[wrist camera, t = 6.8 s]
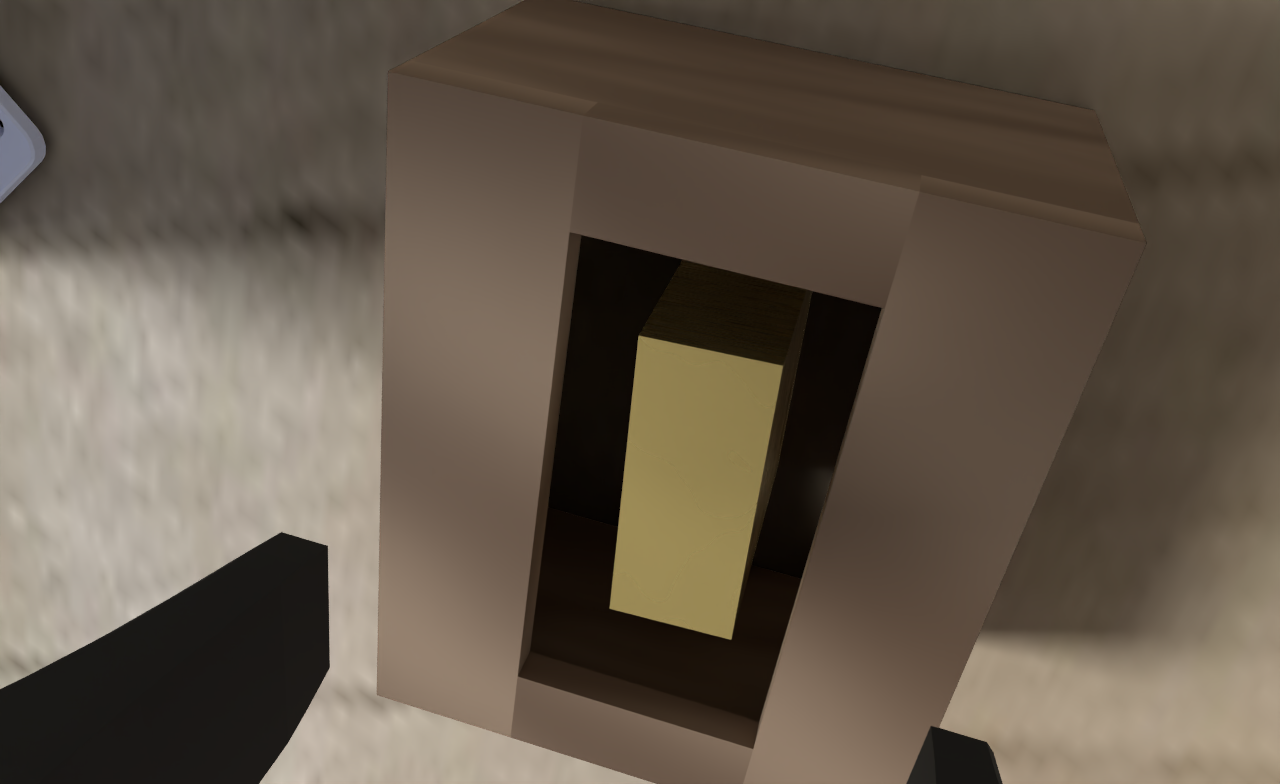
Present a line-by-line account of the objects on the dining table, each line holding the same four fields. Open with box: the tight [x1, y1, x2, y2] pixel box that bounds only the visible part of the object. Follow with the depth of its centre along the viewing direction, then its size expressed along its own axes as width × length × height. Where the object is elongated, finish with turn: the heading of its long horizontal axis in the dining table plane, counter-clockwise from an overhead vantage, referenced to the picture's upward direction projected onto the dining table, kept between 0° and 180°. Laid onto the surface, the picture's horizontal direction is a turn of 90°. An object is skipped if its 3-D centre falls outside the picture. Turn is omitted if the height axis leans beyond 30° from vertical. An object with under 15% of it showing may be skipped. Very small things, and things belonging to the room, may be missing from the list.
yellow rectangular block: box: [610, 260, 813, 640], centre depth 18 cm, size 5×2×5 cm, turn 175°
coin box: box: [377, 0, 1147, 784], centre depth 18 cm, size 11×9×6 cm
